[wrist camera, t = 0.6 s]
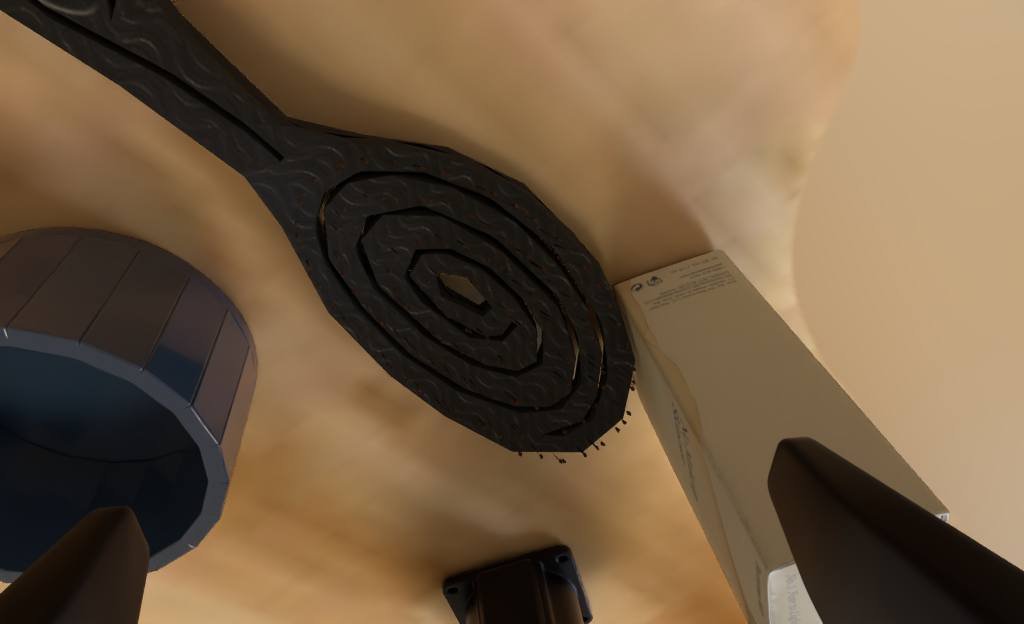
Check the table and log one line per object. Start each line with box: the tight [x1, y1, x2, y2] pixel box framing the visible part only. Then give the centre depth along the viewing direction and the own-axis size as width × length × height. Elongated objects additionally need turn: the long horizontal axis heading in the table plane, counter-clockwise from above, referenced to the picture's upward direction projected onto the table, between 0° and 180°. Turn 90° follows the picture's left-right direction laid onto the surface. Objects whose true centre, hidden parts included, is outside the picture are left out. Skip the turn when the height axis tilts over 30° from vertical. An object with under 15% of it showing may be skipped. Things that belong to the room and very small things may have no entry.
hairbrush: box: [0, 0, 636, 464], centre depth 20 cm, size 8×4×25 cm
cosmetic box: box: [614, 250, 950, 624], centre depth 21 cm, size 6×4×12 cm
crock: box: [0, 227, 257, 583], centre depth 21 cm, size 10×10×6 cm
